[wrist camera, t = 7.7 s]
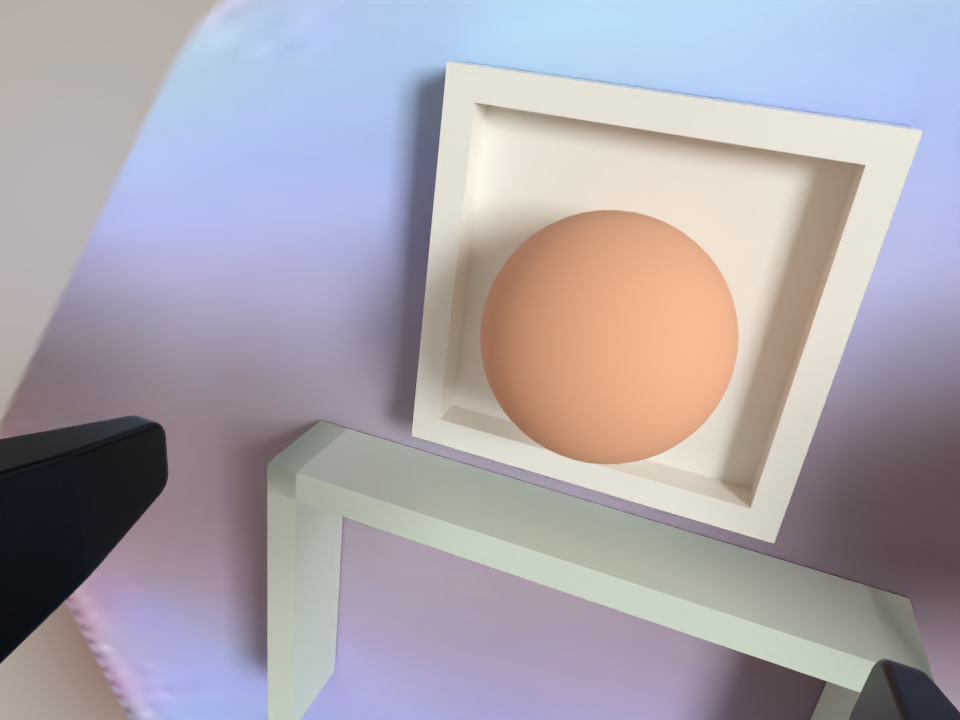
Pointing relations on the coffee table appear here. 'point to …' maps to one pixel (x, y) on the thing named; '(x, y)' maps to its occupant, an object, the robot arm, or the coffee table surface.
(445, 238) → the dish
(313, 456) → the corral
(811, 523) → the coffee table surface
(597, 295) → the ball
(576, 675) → the coffee table surface
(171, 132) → the coffee table surface
